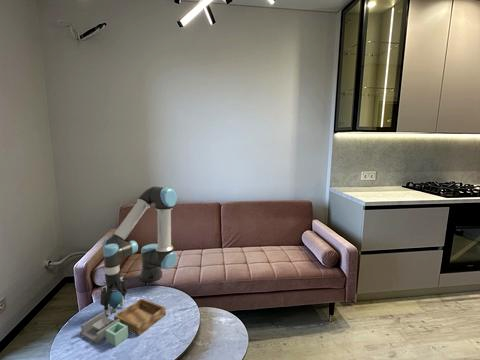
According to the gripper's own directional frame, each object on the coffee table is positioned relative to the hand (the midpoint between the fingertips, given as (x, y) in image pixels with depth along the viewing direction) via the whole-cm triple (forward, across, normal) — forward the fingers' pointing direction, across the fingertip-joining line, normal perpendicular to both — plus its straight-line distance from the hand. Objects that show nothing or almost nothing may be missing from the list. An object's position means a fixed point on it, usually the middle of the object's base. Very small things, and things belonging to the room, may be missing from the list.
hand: (115, 310), depth 155 cm
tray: (+1, -2, +18) cm, 18 cm away
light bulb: (+1, 0, 0) cm, 1 cm away
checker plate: (-3, +14, +8) cm, 16 cm away
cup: (+1, +14, +20) cm, 24 cm away
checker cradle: (+1, +14, +8) cm, 16 cm away
